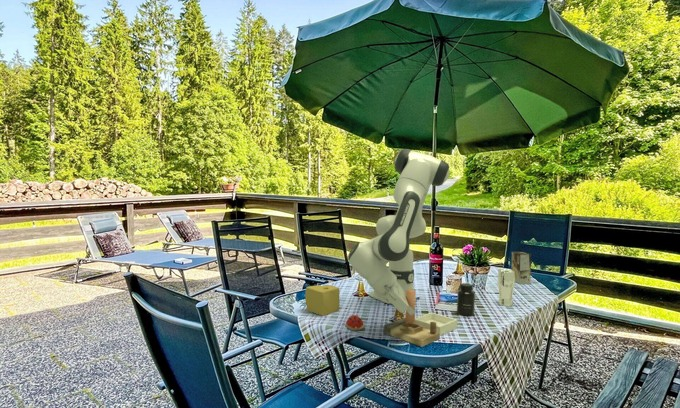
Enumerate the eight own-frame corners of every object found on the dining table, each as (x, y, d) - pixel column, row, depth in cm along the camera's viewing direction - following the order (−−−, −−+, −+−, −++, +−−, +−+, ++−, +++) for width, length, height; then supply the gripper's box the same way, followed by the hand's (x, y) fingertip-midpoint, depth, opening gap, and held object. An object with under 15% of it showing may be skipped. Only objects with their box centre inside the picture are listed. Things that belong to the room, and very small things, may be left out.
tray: (413, 327, 143) (413, 318, 143) (431, 320, 151) (431, 312, 151) (439, 335, 135) (439, 327, 135) (457, 328, 143) (457, 319, 142)
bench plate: (382, 333, 137) (382, 318, 137) (404, 325, 145) (404, 310, 145) (419, 347, 125) (420, 330, 125) (440, 338, 133) (441, 322, 133)
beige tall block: (515, 307, 168) (516, 272, 167) (498, 305, 169) (499, 271, 169) (512, 302, 175) (512, 269, 174) (495, 301, 176) (496, 268, 176)
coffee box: (530, 283, 208) (531, 254, 208) (519, 284, 208) (520, 254, 207) (521, 279, 218) (521, 251, 217) (510, 280, 217) (511, 251, 216)
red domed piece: (361, 322, 149) (361, 313, 149) (366, 331, 139) (366, 322, 139) (344, 322, 148) (344, 313, 148) (347, 332, 138) (347, 322, 138)
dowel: (403, 321, 135) (404, 290, 135) (409, 319, 138) (409, 288, 137) (410, 324, 133) (411, 292, 132) (416, 322, 135) (417, 290, 134)
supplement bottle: (465, 317, 155) (466, 287, 154) (453, 312, 161) (453, 283, 160) (478, 314, 158) (478, 285, 157) (465, 309, 164) (466, 281, 163)
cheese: (323, 305, 169) (323, 282, 168) (340, 311, 161) (341, 287, 161) (304, 310, 162) (305, 287, 161) (322, 317, 154) (322, 292, 153)
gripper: (393, 284, 124) (423, 315, 124) (389, 269, 145) (414, 296, 145) (379, 297, 125) (408, 328, 125) (376, 280, 145) (402, 307, 145)
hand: (412, 310), depth 135 cm, fingers closed on dowel, 3 cm apart
